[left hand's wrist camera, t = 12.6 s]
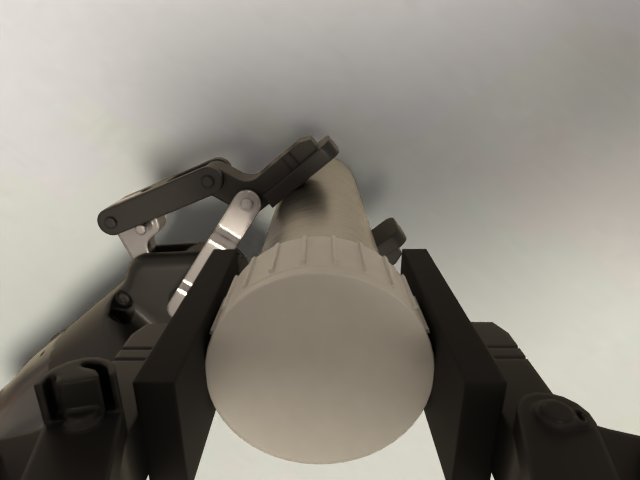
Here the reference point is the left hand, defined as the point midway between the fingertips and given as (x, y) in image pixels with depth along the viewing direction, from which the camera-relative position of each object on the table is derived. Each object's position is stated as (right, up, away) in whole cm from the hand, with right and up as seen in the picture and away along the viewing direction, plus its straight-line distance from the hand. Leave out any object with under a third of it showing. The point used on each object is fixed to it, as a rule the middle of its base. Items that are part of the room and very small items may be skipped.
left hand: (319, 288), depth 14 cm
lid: (0, -2, -4) cm, 4 cm away
